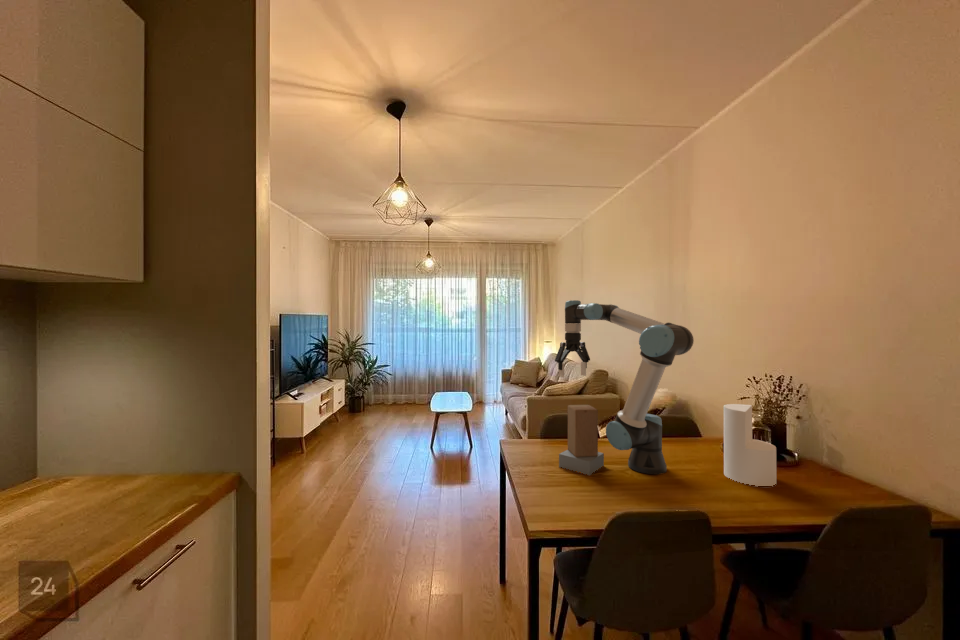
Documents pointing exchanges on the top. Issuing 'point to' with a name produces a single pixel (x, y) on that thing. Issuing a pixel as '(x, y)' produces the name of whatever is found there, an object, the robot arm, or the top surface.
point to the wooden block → (583, 430)
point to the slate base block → (581, 462)
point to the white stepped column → (746, 449)
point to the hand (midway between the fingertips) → (572, 376)
